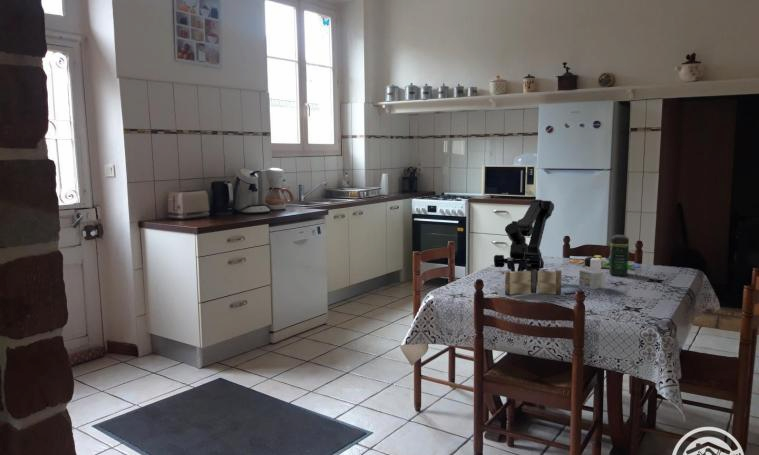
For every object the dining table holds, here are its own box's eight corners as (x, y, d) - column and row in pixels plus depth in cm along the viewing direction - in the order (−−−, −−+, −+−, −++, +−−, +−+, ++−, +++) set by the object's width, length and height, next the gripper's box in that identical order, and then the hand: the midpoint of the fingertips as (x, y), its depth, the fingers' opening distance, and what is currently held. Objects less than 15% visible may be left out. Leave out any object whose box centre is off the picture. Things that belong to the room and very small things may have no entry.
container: (578, 286, 249) (579, 256, 247) (592, 284, 252) (593, 255, 250) (591, 290, 242) (592, 259, 240) (606, 288, 245) (607, 258, 243)
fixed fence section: (561, 293, 235) (561, 269, 233) (561, 294, 232) (561, 271, 231) (537, 291, 237) (538, 268, 236) (537, 293, 235) (537, 270, 234)
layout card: (493, 290, 246) (493, 288, 246) (553, 288, 247) (553, 286, 247) (501, 298, 231) (501, 297, 231) (565, 297, 232) (565, 295, 232)
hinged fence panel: (534, 291, 238) (535, 269, 237) (537, 292, 236) (537, 270, 235) (504, 293, 236) (504, 270, 235) (506, 295, 234) (506, 272, 232)
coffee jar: (628, 276, 265) (629, 236, 263) (609, 275, 268) (610, 236, 266) (627, 272, 274) (628, 233, 272) (609, 271, 277) (610, 233, 275)
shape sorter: (564, 266, 294) (564, 257, 293) (573, 260, 310) (573, 251, 309) (636, 272, 276) (636, 263, 276) (641, 265, 292) (642, 256, 292)
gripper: (494, 235, 242) (490, 267, 233) (540, 236, 236) (538, 268, 227) (496, 251, 250) (493, 281, 241) (541, 252, 244) (539, 284, 236)
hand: (515, 278), depth 236 cm, fingers closed
